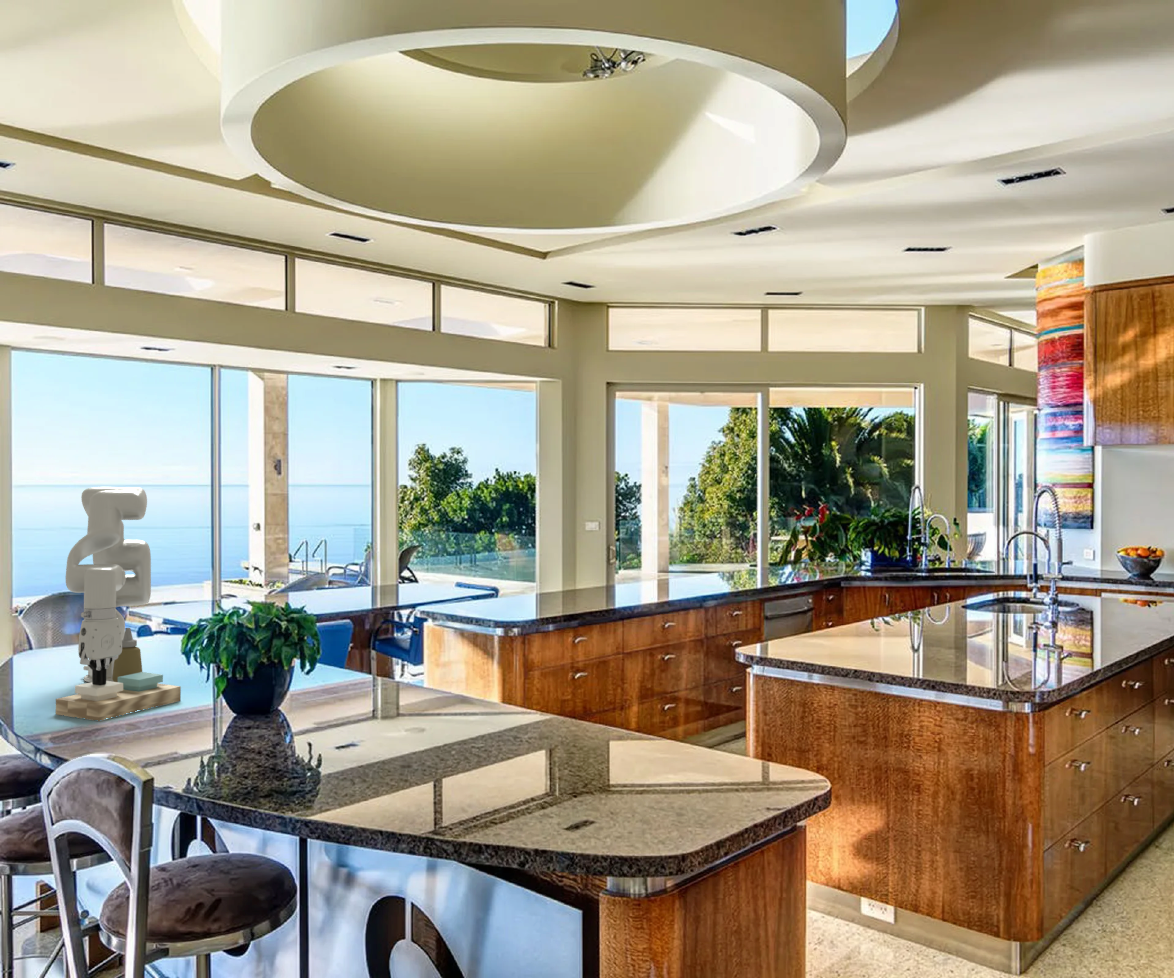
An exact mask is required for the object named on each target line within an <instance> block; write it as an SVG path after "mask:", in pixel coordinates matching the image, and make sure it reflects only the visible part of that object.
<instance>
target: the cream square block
mask: <svg viewBox="0 0 1174 978" xmlns="http://www.w3.org/2000/svg"><path fill="white" fill-rule="evenodd" d="M119 691H123V683H119V682H112V681H106V684H105V685H93V684H92V682H85V683H81V684H76V685H75V686H74V694H75V695H76V694H81V699H85V700H92V701H101V700H105V699H109V698H114V697H117V692H119Z"/></svg>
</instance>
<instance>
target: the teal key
mask: <svg viewBox="0 0 1174 978" xmlns="http://www.w3.org/2000/svg"><path fill="white" fill-rule="evenodd" d="M163 681H164V674H161V673H153V672H144V671H142V672H140V673H135V674H130V675H125V676H120V677H118V682H119V683H123V690H131V691H138V692H140V691H144V690H148V689H153V688H157V683H159V684H161V683H163Z"/></svg>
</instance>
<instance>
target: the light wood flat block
mask: <svg viewBox="0 0 1174 978" xmlns="http://www.w3.org/2000/svg"><path fill="white" fill-rule="evenodd" d="M181 689H182V687H181V686H179V685H173V684H166V683H157V688H153V689H148V690H144V691H140V692H138V691H131V690H123V691H119V692H117V697H114V698H109V699H105V700H101V701H92V700H85V699H81V694H76V693H75V694H73V695H68V696H67V695H66V696H63V697H59V698H55V715H57V716H63V715H64V716H65V717H70V718H75V717H77V718H76V719H82V718H85V719H84V720H88V721H94V720H98V721H97V722H101V721H100V720H102V721H105V720H104V719H106V718H110V719H112V718H111V717H114V718H117V717H116V716H118V717H120V716H119V715H122V716H125V715H124V714H126V713H130V712H134V713H136V712H135V711H137V710H142V711H144V710H143V709H146V710H149V709H148V708H150V709H152V708H151V707H154V708H157V707H156V706H158V707H162V706H166V705H169V704H173V703H176V702H181V691H182V690H181ZM130 714H131V713H130ZM126 715H127V714H126ZM106 720H107V719H106Z"/></svg>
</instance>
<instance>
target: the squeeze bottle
mask: <svg viewBox="0 0 1174 978" xmlns="http://www.w3.org/2000/svg"><path fill="white" fill-rule="evenodd" d="M141 653H142V652H141V649H140V647H138V641H137V639H134V637H133V634H132V630H131V627H125V634H124V638H123V640H122V652H121V654H120V655H118V658H117V659H116V660H114V668H113V676H112V679H113V682H118V677H120V676H125V675H130V674H135V673H140V672H143V664H142V662H143V661H142V655H141Z"/></svg>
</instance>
